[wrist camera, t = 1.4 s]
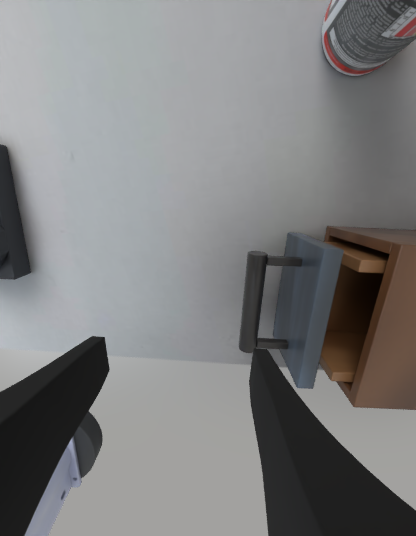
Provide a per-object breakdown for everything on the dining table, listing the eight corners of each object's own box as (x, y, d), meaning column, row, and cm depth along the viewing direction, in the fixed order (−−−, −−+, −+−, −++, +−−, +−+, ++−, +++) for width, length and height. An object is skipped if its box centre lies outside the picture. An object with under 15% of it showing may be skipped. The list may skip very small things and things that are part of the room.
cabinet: (305, 336, 24) (353, 407, 16) (326, 226, 20) (402, 244, 12) (414, 341, 24) (518, 414, 16) (453, 231, 20) (611, 254, 12)
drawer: (233, 333, 23) (242, 386, 16) (242, 230, 20) (257, 245, 13) (376, 339, 23) (441, 394, 16) (407, 237, 20) (501, 256, 13)
